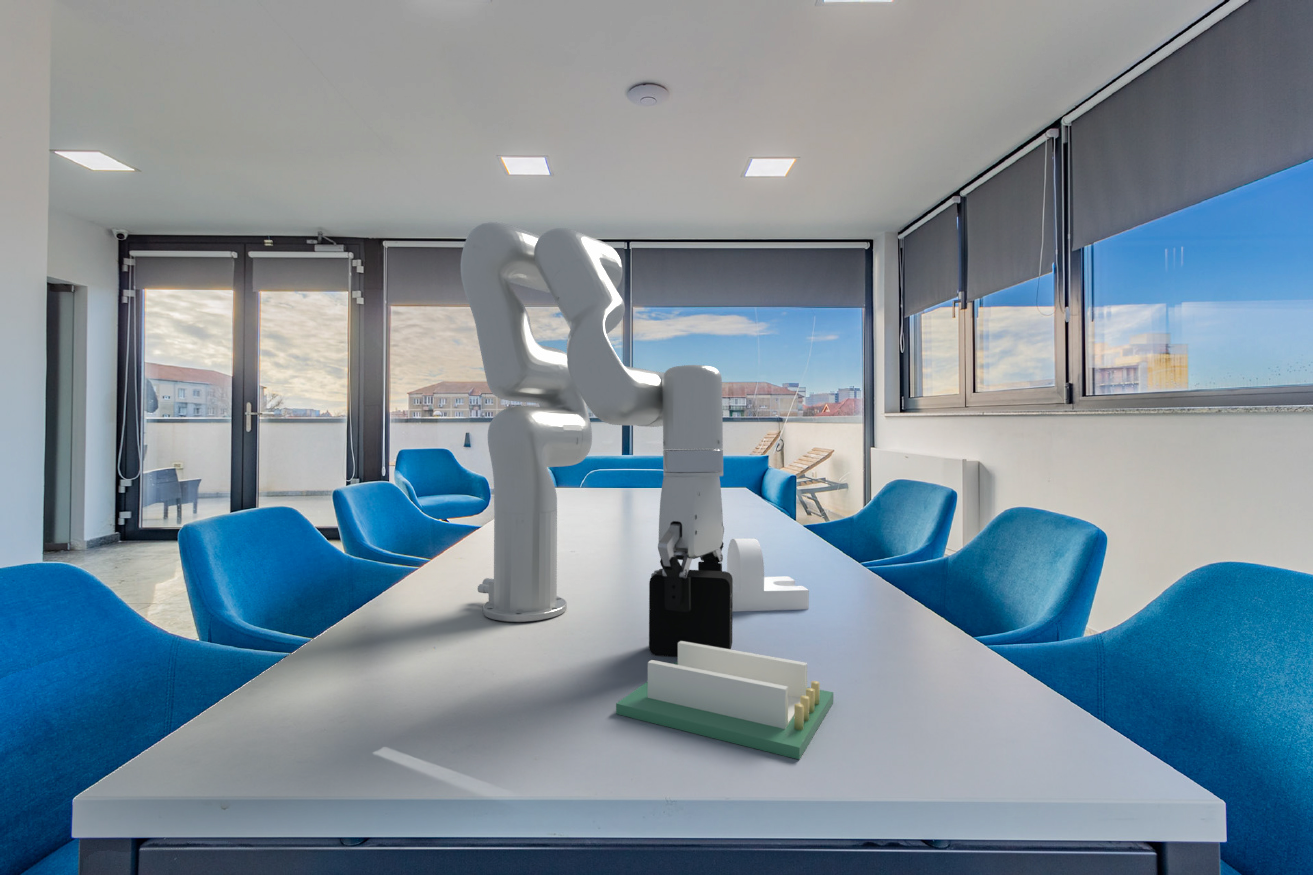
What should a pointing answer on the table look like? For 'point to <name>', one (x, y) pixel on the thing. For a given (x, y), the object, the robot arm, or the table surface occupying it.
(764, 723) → the board
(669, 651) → the electronic device
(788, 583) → the white bracket
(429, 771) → the table surface
